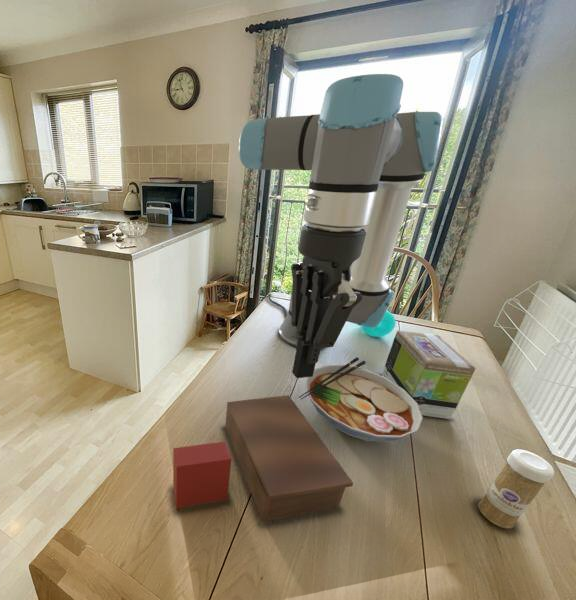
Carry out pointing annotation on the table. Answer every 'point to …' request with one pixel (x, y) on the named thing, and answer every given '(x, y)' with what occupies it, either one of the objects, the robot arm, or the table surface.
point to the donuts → (381, 326)
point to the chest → (259, 494)
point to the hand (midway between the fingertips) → (302, 374)
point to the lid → (286, 448)
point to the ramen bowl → (362, 402)
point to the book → (201, 473)
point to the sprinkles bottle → (515, 488)
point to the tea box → (428, 372)
